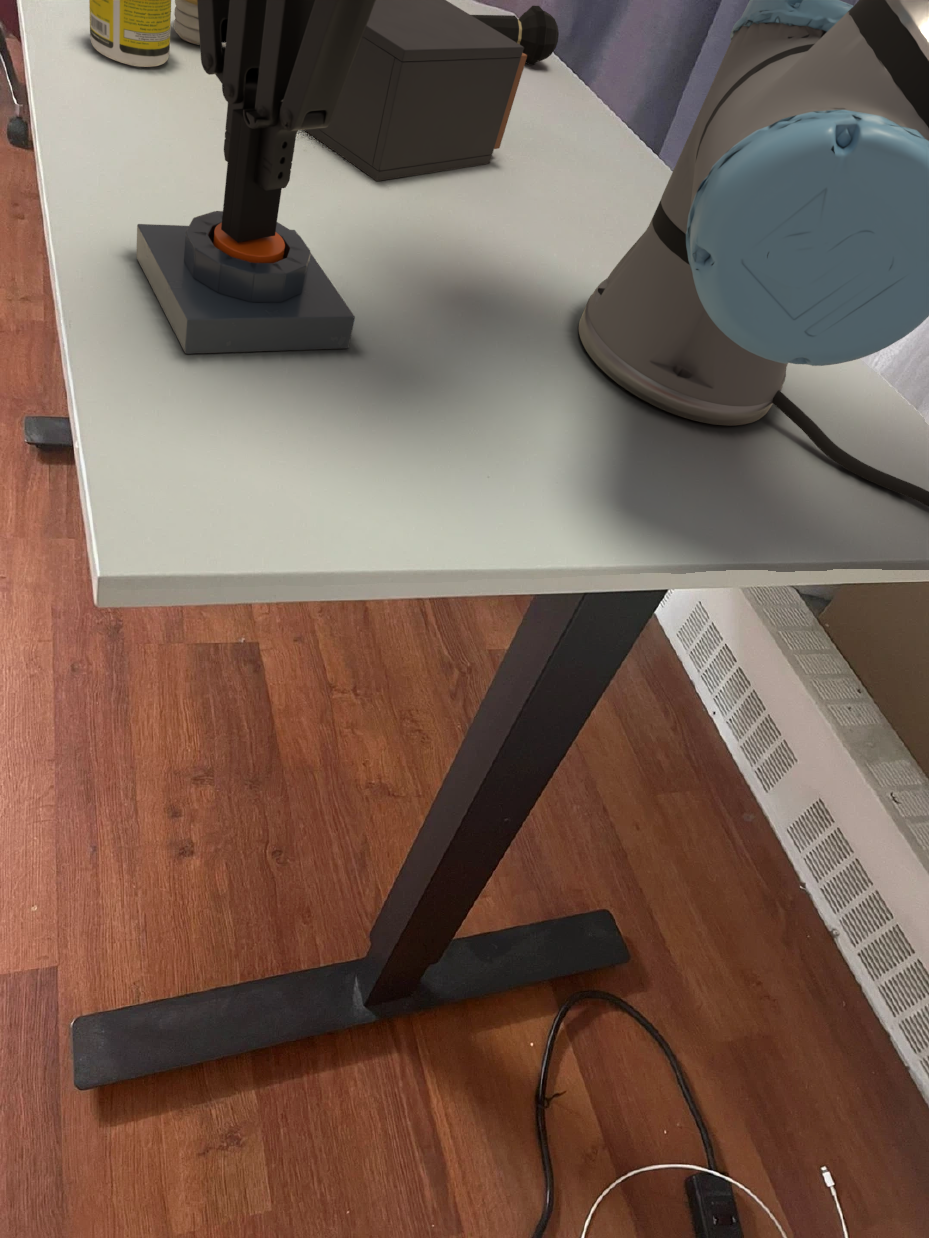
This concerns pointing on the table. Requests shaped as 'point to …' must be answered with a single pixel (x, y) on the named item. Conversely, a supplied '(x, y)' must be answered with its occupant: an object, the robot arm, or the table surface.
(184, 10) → the light bulb
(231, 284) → the control box
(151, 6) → the pill bottle
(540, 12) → the microphone
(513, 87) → the drawer
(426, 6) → the cabinet
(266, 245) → the button
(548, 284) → the table surface
